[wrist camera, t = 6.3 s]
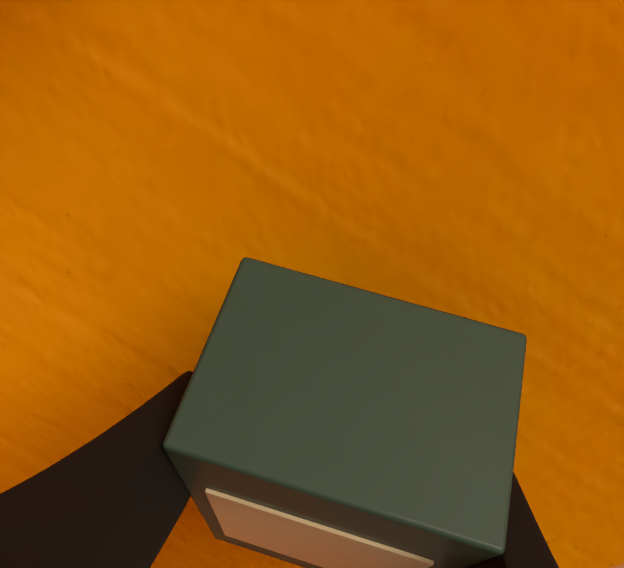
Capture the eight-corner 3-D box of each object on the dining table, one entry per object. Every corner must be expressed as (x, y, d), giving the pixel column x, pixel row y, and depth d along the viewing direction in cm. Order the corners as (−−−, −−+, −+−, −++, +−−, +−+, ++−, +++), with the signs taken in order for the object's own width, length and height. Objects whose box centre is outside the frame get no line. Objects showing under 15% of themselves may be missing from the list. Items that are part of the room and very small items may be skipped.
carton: (242, 254, 10) (157, 451, 8) (529, 333, 10) (506, 561, 8) (255, 419, 18) (212, 540, 16) (414, 468, 17) (389, 599, 15)
